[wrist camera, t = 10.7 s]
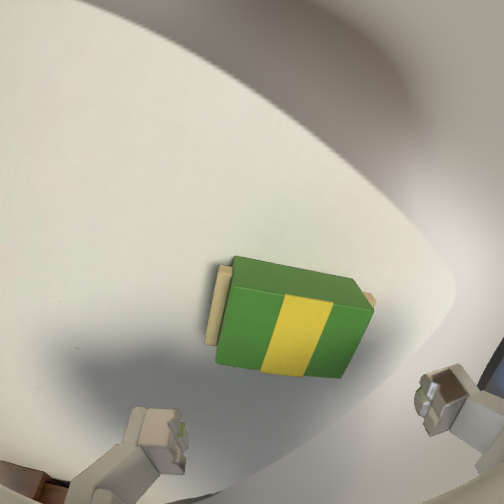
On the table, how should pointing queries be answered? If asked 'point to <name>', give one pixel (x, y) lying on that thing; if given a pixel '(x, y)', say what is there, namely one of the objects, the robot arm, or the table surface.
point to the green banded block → (286, 319)
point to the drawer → (52, 494)
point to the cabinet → (24, 480)
